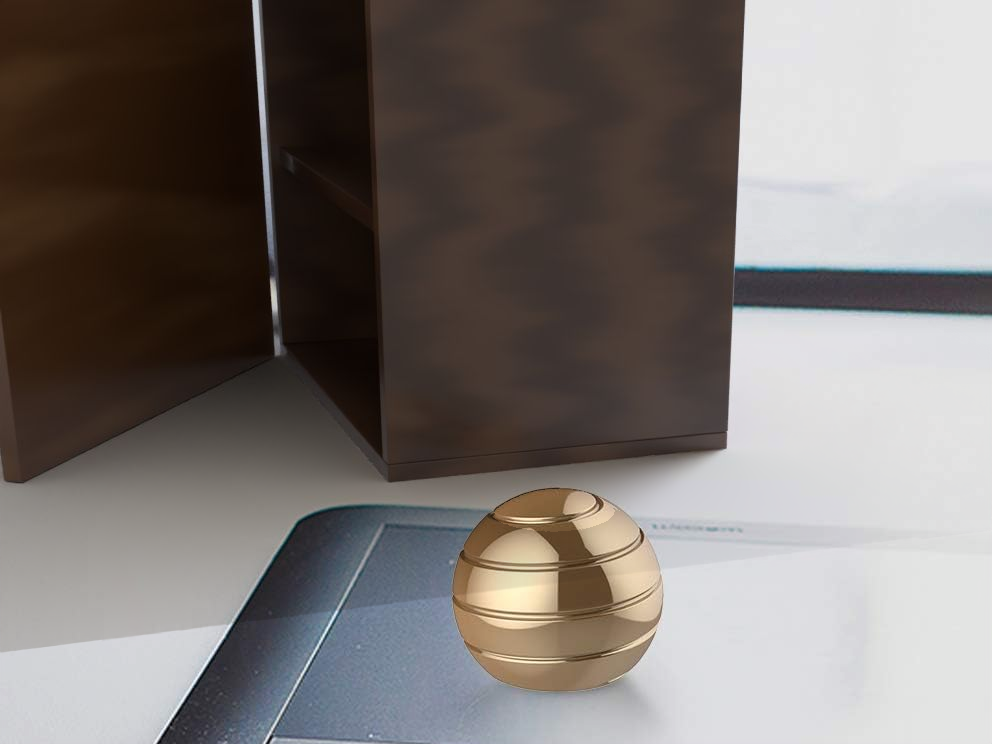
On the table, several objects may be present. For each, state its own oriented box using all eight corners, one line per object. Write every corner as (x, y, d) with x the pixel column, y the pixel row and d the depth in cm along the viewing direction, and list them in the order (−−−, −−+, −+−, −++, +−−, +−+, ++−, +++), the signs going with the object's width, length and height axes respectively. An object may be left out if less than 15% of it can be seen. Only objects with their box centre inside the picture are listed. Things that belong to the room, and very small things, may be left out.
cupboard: (388, 484, 85) (367, -49, 75) (280, 356, 107) (253, -69, 97) (727, 450, 91) (748, -46, 82) (559, 336, 113) (560, -65, 103)
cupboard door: (-103, 467, 85) (-185, -60, 75) (173, 346, 108) (137, -70, 98) (22, 483, 83) (-46, -54, 74) (275, 356, 106) (248, -66, 97)
